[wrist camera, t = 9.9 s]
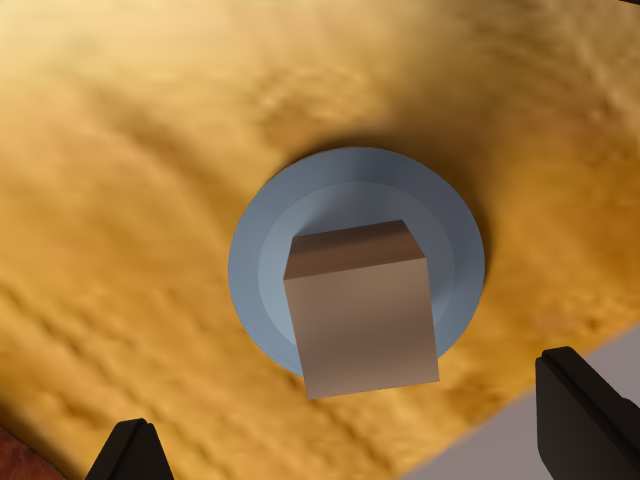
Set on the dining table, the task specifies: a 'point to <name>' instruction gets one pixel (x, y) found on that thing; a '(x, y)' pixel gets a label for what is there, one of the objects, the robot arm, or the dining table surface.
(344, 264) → the block
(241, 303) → the dish
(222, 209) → the dining table surface
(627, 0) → the mug
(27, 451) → the bread slice
